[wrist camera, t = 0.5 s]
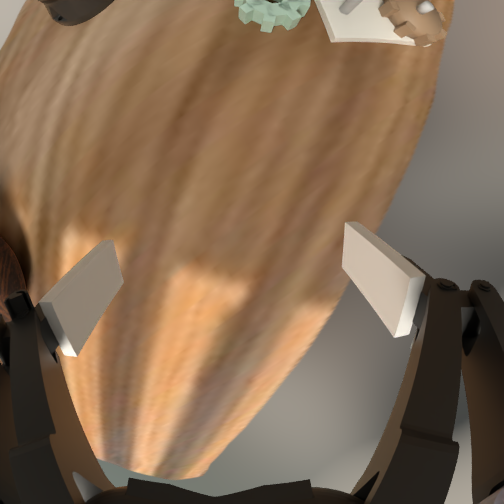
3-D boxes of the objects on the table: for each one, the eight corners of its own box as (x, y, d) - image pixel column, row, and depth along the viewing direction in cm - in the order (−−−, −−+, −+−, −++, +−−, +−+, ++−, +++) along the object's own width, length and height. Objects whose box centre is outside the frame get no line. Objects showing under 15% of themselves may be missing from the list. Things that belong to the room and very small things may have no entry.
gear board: (308, -13, 26) (323, -39, 17) (414, -1, 25) (439, -15, 16) (332, 45, 30) (355, 26, 22) (436, 51, 29) (466, 43, 21)
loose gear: (228, -11, 26) (228, -23, 22) (292, -18, 25) (297, -30, 22) (245, 37, 30) (246, 27, 26) (312, 28, 29) (319, 18, 25)
